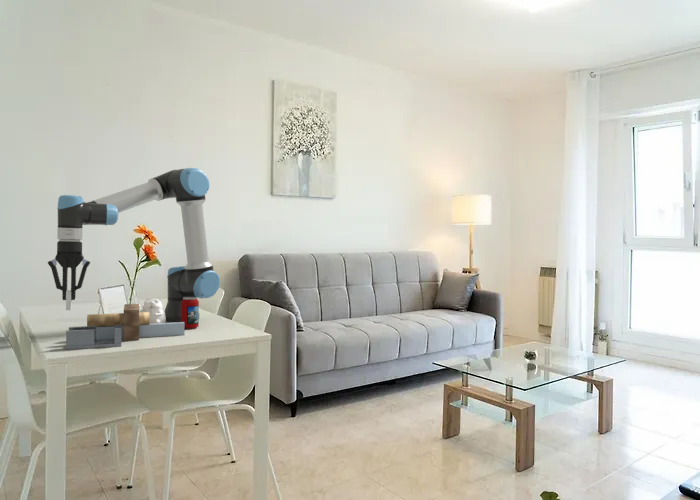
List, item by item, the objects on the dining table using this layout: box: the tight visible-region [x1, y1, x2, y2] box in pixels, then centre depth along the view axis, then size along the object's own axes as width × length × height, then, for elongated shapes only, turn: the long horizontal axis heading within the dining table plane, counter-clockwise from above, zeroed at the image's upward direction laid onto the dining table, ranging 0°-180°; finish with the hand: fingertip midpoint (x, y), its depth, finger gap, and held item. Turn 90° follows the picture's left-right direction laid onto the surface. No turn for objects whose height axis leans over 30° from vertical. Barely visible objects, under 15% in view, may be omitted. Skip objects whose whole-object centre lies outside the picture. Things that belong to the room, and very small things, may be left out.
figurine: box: [139, 297, 167, 324], centre depth 201 cm, size 10×10×12 cm
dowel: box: [86, 312, 150, 327], centre depth 182 cm, size 20×4×4 cm, turn 113°
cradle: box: [65, 325, 123, 351], centre depth 170 cm, size 16×9×6 cm, turn 113°
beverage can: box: [180, 297, 200, 330], centre depth 204 cm, size 7×7×12 cm
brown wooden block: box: [122, 303, 140, 342], centre depth 186 cm, size 5×17×11 cm, turn 23°
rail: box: [96, 321, 185, 340], centre depth 185 cm, size 30×2×4 cm, turn 113°
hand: (68, 309), depth 176 cm, fingers closed
